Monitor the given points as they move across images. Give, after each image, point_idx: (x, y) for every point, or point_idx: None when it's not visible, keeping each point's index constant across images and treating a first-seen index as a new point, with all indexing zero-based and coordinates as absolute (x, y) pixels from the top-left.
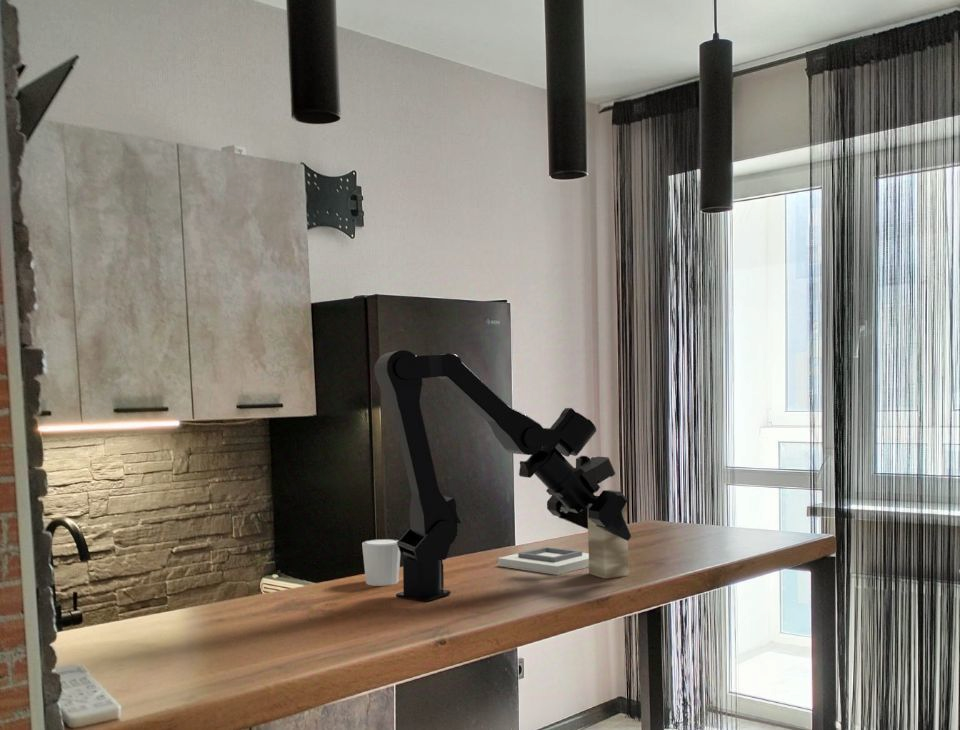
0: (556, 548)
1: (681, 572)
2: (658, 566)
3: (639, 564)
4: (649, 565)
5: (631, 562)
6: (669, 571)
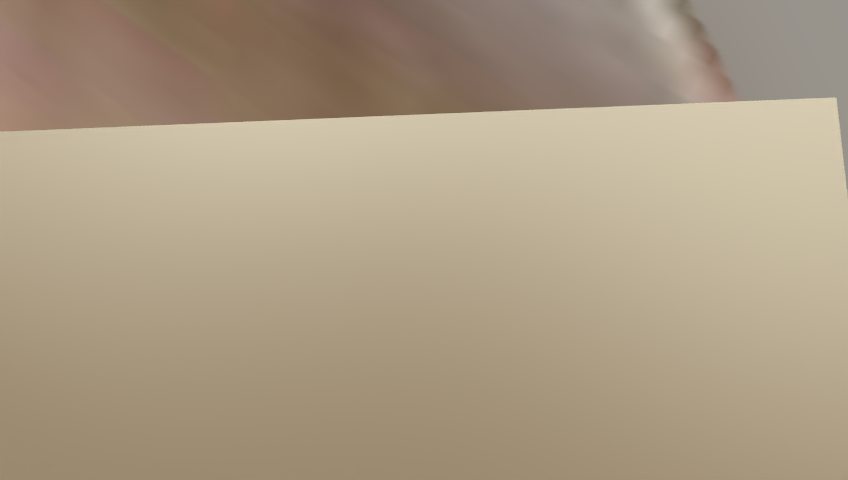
0: None
1: (626, 8)
2: (437, 26)
3: (347, 77)
4: (394, 49)
5: (287, 84)
6: (573, 45)
